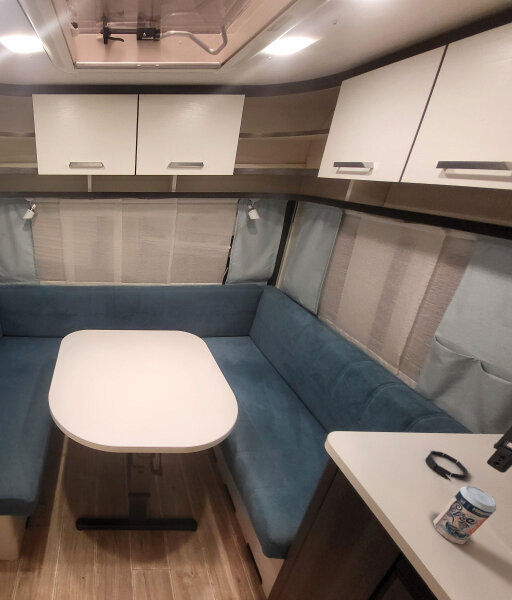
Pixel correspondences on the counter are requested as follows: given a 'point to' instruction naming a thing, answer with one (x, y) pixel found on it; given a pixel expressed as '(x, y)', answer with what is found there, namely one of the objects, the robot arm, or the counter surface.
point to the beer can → (464, 514)
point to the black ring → (441, 470)
